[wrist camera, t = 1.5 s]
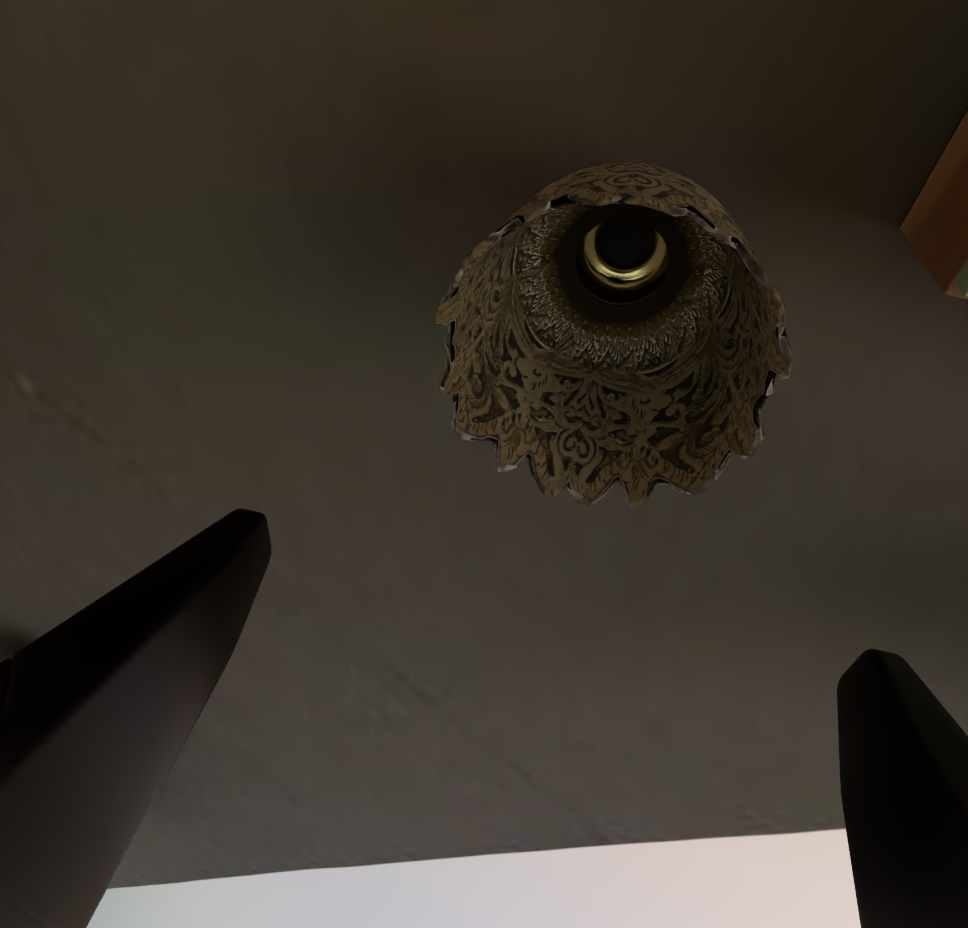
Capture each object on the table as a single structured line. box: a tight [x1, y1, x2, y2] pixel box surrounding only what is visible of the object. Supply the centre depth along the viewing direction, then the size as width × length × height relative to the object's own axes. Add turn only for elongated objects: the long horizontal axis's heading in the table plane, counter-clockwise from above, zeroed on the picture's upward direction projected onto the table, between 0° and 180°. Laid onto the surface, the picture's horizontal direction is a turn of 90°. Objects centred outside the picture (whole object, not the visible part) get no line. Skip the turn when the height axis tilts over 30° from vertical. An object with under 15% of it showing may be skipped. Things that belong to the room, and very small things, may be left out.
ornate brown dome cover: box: [435, 162, 792, 508], centre depth 17 cm, size 8×7×8 cm
